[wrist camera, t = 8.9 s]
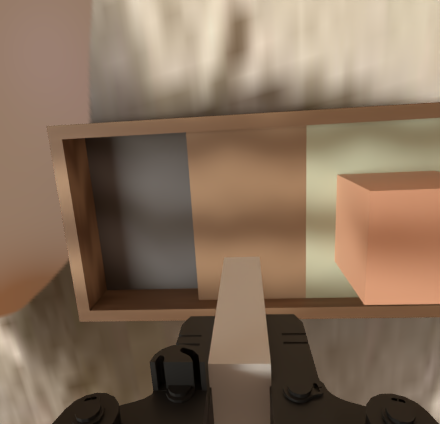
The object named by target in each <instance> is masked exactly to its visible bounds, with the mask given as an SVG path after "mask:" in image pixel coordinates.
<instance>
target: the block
mask: <svg viewBox="0 0 440 424" xmlns="http://www.w3.org/2000/svg"><path fill="white" fill-rule="evenodd" d="M335 263H336V264H337V265H338V267H339V268H340V270H341V271H342V273H343V274H344V276H345V277H346V279H347V280H348V282H349V283H350V284H351V286H352V287H353V289H354V290H355V292H356V293H357V295H358V296H359V298H360V299H361V301H362V302H363V304H364V305H397V304H440V172H438V171H413V172H389V173H365V174H340V175H337V197H336V230H335Z"/></svg>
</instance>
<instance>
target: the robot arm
mask: <svg viewBox="0 0 440 424" xmlns="http://www.w3.org/2000/svg"><path fill="white" fill-rule="evenodd" d="M150 368H151V375H152V383H153V394H152V395H150V396H148V397H146V398H145V399H142V400H139V401H136V402H132V403H128V404H124V405H120V406H119V403H118V402H117V400H116V399H115V397H114V396H111V395H109V394H107V393H94V394H90V395H86V396H84V397H82V398H80V399H78V400H76V401H74V402H73V403H72V404H71V405H70V406H69V407H67V408H66V409H65V410H64V411H63V412H62V414H61V415H60V416H59V417H58V418H57V419H56V420H55V421H54V422H53V423H52V424H439V423H438V422H437V421H436V420H435V419H434V418H433V417H432V416H431V415H430V414H429V413H428V412H427V411H426V410H425V409H424V408H422V407H421V406H420V405H419V404H418V403H416V402H414V401H412V400H410V399H408V398H406V397H403V396H399V395H395V394H379V395H377V396H374V397H372V398H371V399H370V400H369V402H368V403H367V405H366V406H362V405H359V404H355V403H351V402H348V401H345V400H342V399H340V398H338V397H336V396H334V395H332V394H331V393H330V392H329V391H327V389H326V387H325V385H324V384H323V383H322V382H321V381H320V380H319V378H318V375H317V371H316V368H315V364H314V361H313V357H312V354H311V350H310V347H309V344H308V340H307V336H306V333H305V329H304V326H303V323H302V322H301V321H300V320H299V319H298V318H297V317H296V316H295V315H294V314H266V313H265V304H264V294H263V285H262V276H261V266H260V257H226V258H224V262H223V269H222V275H221V282H220V288H219V295H218V301H217V308H216V314H215V316H190V317H189V318H188V319H187V320H186V322H185V323H184V324H183V325H182V327H181V330H180V333H179V337H178V340H177V343H176V345H173V346H170V347H167V348H164V349H162V350H161V351H159V352H158V353H157V354H155V355H154V357H153V358H152V359H151V361H150Z"/></svg>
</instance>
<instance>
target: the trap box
mask: <svg viewBox="0 0 440 424" xmlns="http://www.w3.org/2000/svg"><path fill="white" fill-rule="evenodd" d="M47 132H48V138H49V144H50V150H51V155H52V161H53V167H54V173H55V179H56V184H57V190H58V196H59V202H60V208H61V214H62V220H63V225H64V231H65V237H66V243H67V249H68V255H69V261H70V267H71V272H72V278H73V284H74V290H75V296H76V302H77V307H78V313H79V319H80V322H87V321H167V320H187V319H188V318H189V317H190V316H215V314H216V308H217V301H218V295H219V288H220V282H221V275H222V269H223V262H224V258H226V257H260V266H261V276H262V285H263V294H264V304H265V313H266V314H294V315H295V316H296V317H297V318H298V319H328V318H408V317H440V304H397V305H364V304H363V302H362V301H361V299H360V298H359V296H358V295H357V293H356V292H355V290H354V289H353V287H352V286H351V284H350V283H349V282H348V280H347V279H346V277H345V276H344V274H343V273H342V271H341V270H340V268H339V267H338V265H337V264H336V263H335V230H336V197H337V175H340V174H365V173H389V172H413V171H438V172H440V102H437V103H421V104H404V105H388V106H371V107H355V108H338V109H322V110H305V111H289V112H272V113H256V114H239V115H223V116H206V117H190V118H173V119H157V120H140V121H123V122H107V123H90V124H75V125H58V126H47Z"/></svg>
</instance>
